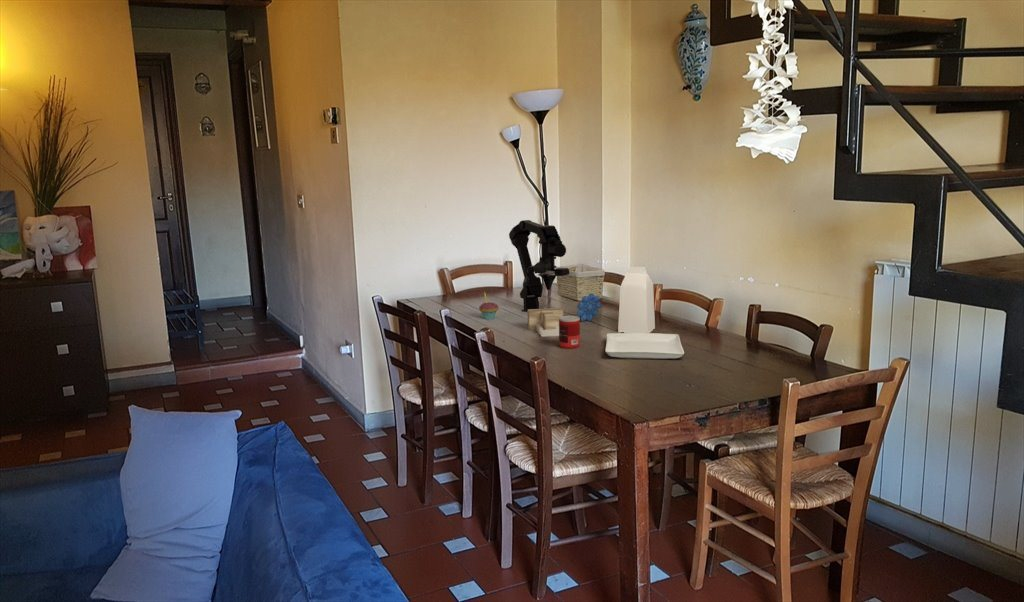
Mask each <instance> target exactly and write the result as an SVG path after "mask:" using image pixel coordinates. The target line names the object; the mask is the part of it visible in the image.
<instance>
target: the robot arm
mask: <svg viewBox="0 0 1024 602" xmlns="http://www.w3.org/2000/svg"><path fill="white" fill-rule="evenodd" d="M532 233H533V234H535V235H536V236H537V237H538V238H539V239H540V240H539V242H538V244H540V249H541V252H540V255H541V256H540V257H539V261H538V262H536V264H532V263H533V262H532V260H531V255H530V251H529V248H528V244H529V239H530V238H529V236H530V235H531V234H532ZM508 237H509V240H510V242H511V245H512V246H513V247H514V248H516V252H517V255H518V259H519V262H520V267H521V270H522V274H523V277H524V278H523V282H522V289H521V290H520V292H519V296H520V299H523V309H521V312H527V313H528V310H530V309H540V300H539V298H542V295H543V289H544V288H543V284H542V280H543V283H544V285H545V288H546V290H547V291H550V290H551V288H552V286H553V284H554V280H555V279H557V276H564V275H568V274H569V269H568V268H562V267H561V268H557V265H555V264H556V263H555V260H556V259H557V257H558V258H562V257H565V255H566V253H567V248H566V245H565V244H563V240H561V237H560V234H559V232H558V230H557V228H556V226H555V225H542V224H541V223H537V222H534V221H532V220H530V219H524V220H523V219H521V220H520V221H519V223H518V224H516V225H515V226H513V227H512V228H511V230H510V231H509V233H508ZM556 268H557V269H556ZM536 274H537V275H538V276H536Z"/></svg>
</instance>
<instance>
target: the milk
mask: <svg viewBox="0 0 1024 602" xmlns="http://www.w3.org/2000/svg"><path fill="white" fill-rule="evenodd" d="M654 294H655V293H654V283H653V280H652V279H651V277H650V275H649V274H648V271H647V269H646V266H640V265H639V266H638V265H636V266H635V265H630V266H629V267H628V269H627V271H626V273H625V275H624V278H623V279H622V282H621V283H620V289H619V305H618V306H619V308H618V310H619V311H618V328H617V330H618V331H617V332H618V333H621V332H624V333H652V331H654V330H655V329H656V320H655V319H656V317H655V316H656V315H655V299H654ZM653 329H654V330H653Z"/></svg>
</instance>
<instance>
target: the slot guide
mask: <svg viewBox="0 0 1024 602" xmlns="http://www.w3.org/2000/svg"><path fill="white" fill-rule="evenodd" d="M535 331H538V332H537V333H538V335H540V337H559V326H558V325H557V324H556V329H550V330H544V329H543V327H542V326H541V325H540V324H536V330H535Z"/></svg>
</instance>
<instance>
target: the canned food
mask: <svg viewBox="0 0 1024 602" xmlns="http://www.w3.org/2000/svg"><path fill="white" fill-rule="evenodd" d="M580 321H581V317H580V316H577V315H563V316H562V317H560V318H559V336H558V340H559V341H558V343H559V344H558V345H559V347H560V348H561V349H565V350H575V349H578V348H579V347H580V345H581V331H580V330H581V329H580V328H581V327H580V326H581V322H580Z"/></svg>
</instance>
